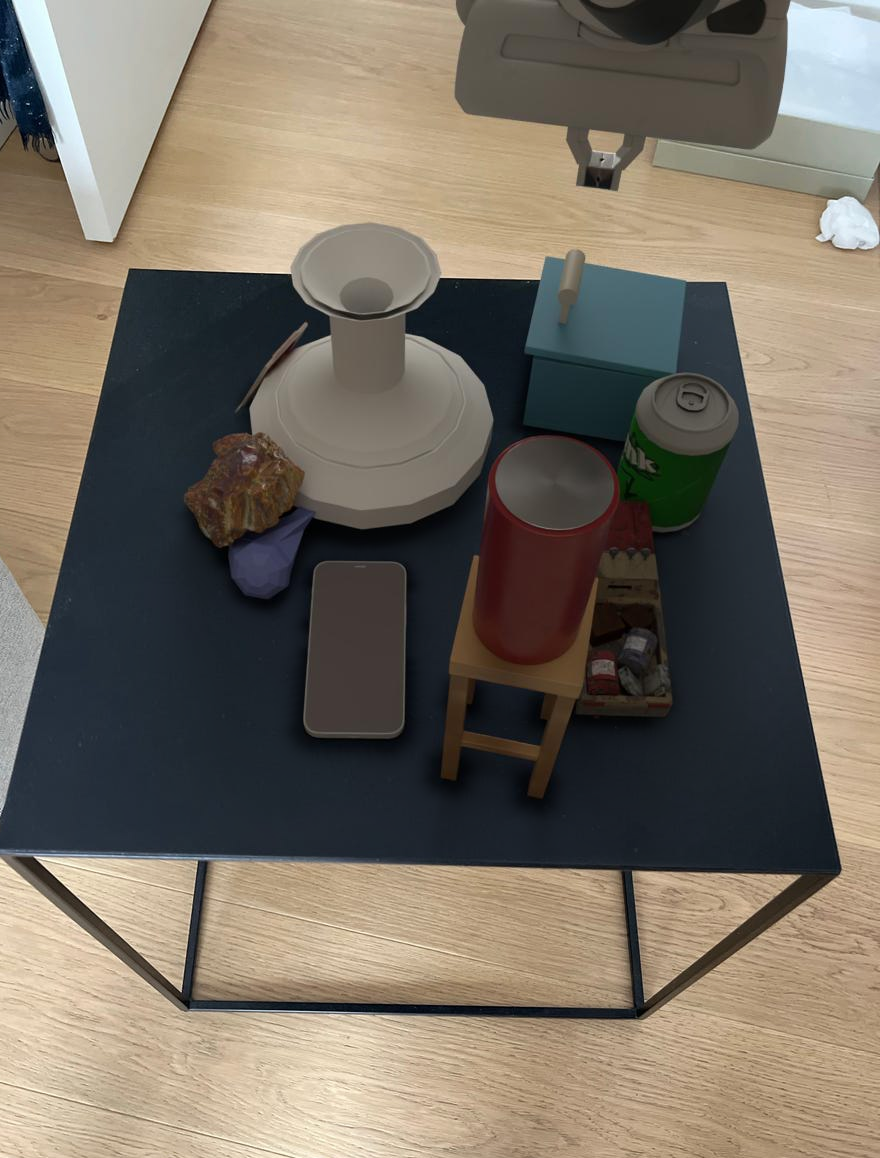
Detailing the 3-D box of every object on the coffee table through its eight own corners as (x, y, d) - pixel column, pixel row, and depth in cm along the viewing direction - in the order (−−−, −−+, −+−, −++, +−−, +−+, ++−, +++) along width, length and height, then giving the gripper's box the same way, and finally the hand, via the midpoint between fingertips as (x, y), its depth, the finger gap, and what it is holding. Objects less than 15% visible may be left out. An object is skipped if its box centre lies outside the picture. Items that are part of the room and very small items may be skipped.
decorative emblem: (314, 325, 89) (247, 410, 92) (311, 322, 89) (243, 407, 92) (302, 324, 79) (227, 420, 82) (299, 321, 79) (223, 417, 82)
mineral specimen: (228, 412, 81) (261, 481, 85) (149, 459, 78) (187, 529, 82) (298, 439, 72) (332, 516, 76) (211, 494, 69) (251, 570, 73)
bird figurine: (201, 578, 74) (218, 557, 80) (268, 618, 75) (280, 595, 81) (253, 489, 72) (267, 475, 78) (322, 532, 73) (330, 515, 79)
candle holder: (486, 556, 80) (509, 381, 63) (240, 544, 80) (199, 366, 64) (490, 378, 90) (511, 186, 73) (272, 368, 91) (243, 175, 74)
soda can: (707, 482, 84) (751, 378, 74) (691, 550, 80) (734, 450, 70) (620, 460, 85) (651, 354, 75) (600, 526, 82) (630, 424, 71)
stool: (558, 707, 73) (598, 577, 58) (543, 800, 69) (582, 686, 55) (458, 687, 74) (473, 554, 59) (438, 778, 70) (449, 660, 55)
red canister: (586, 584, 58) (627, 444, 48) (572, 675, 55) (613, 545, 45) (482, 565, 59) (500, 423, 48) (463, 653, 56) (478, 521, 45)
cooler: (522, 425, 87) (533, 359, 81) (541, 336, 93) (552, 268, 86) (652, 446, 86) (673, 381, 79) (663, 355, 92) (684, 288, 85)
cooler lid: (524, 353, 80) (531, 311, 77) (544, 263, 86) (552, 219, 82) (673, 381, 79) (689, 339, 76) (684, 287, 85) (699, 244, 81)
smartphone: (301, 733, 71) (313, 560, 78) (302, 738, 72) (314, 567, 79) (404, 734, 71) (406, 561, 78) (404, 739, 72) (406, 568, 79)
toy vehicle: (639, 534, 81) (660, 472, 75) (662, 732, 72) (689, 682, 65) (554, 531, 81) (568, 470, 75) (567, 729, 72) (584, 679, 65)
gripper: (446, -29, 56) (440, 191, 68) (817, 11, 53) (743, 232, 65) (468, -82, 59) (458, 137, 71) (819, -46, 57) (748, 175, 68)
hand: (597, 183), depth 68 cm, fingers closed
